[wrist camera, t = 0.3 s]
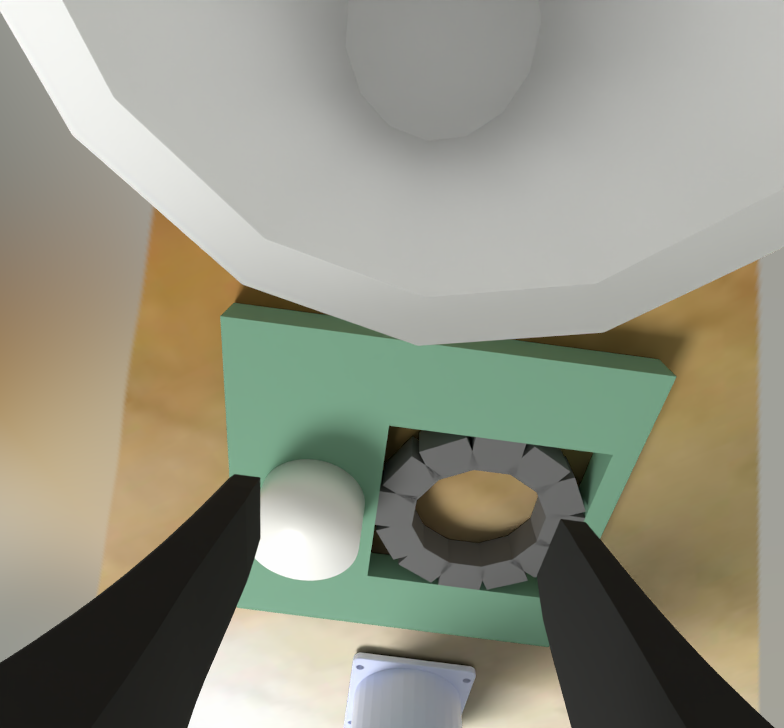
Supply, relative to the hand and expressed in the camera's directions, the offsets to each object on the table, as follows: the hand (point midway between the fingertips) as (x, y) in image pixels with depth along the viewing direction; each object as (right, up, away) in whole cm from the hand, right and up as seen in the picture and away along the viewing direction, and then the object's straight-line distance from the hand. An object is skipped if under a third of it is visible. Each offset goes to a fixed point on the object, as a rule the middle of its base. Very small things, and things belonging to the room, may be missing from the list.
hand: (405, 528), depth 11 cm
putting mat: (+1, -3, +12) cm, 13 cm away
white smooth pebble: (-4, -3, +11) cm, 12 cm away
